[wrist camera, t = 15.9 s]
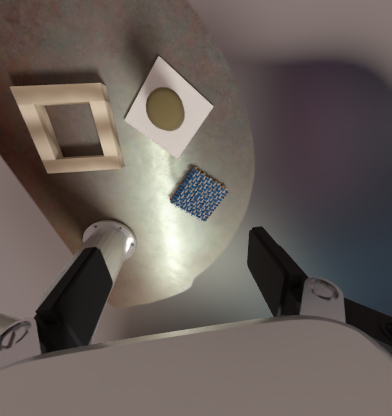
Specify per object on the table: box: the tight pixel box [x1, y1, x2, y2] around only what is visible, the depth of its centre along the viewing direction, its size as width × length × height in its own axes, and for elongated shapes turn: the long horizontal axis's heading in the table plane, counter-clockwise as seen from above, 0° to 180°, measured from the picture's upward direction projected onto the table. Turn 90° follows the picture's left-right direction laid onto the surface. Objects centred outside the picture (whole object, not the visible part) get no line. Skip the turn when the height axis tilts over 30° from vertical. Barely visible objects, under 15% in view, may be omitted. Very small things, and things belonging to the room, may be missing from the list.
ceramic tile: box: [125, 56, 214, 159], centre depth 33 cm, size 12×12×1 cm
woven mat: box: [170, 167, 228, 221], centre depth 40 cm, size 10×11×2 cm
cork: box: [146, 87, 185, 131], centre depth 27 cm, size 6×6×11 cm
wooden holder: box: [10, 83, 125, 174], centre depth 32 cm, size 14×14×2 cm
